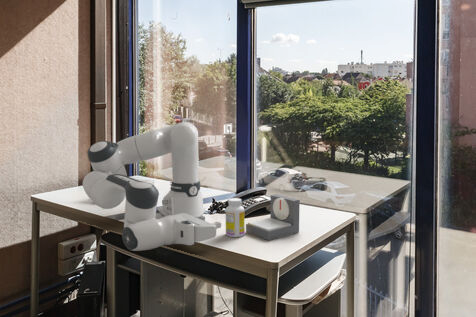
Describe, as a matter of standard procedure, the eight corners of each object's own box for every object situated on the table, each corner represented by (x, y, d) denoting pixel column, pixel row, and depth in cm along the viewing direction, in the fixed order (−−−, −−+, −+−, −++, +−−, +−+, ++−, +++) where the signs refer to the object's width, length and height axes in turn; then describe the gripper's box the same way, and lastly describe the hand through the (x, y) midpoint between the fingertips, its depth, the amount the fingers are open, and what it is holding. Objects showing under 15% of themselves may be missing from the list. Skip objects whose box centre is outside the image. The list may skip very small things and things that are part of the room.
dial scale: (245, 232, 145) (245, 199, 143) (276, 224, 154) (276, 194, 153) (268, 240, 135) (268, 206, 134) (299, 232, 145) (299, 199, 143)
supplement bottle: (242, 231, 145) (242, 197, 144) (246, 237, 139) (246, 201, 137) (224, 232, 144) (224, 197, 143) (226, 238, 138) (226, 202, 136)
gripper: (160, 230, 135) (195, 223, 143) (192, 247, 119) (229, 237, 127) (159, 212, 134) (195, 206, 142) (192, 226, 118) (229, 218, 126)
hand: (211, 221), depth 135 cm, fingers open, 8 cm apart
